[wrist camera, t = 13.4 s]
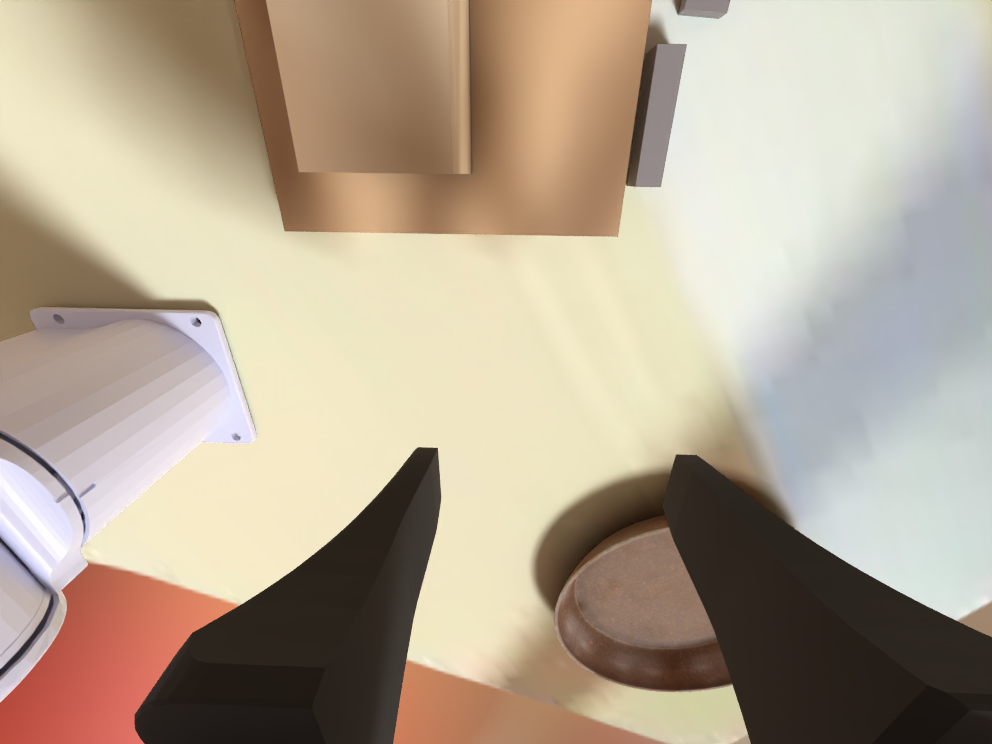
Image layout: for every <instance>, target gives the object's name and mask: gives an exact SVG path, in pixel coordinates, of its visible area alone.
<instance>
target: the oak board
mask: <svg viewBox="0 0 992 744" xmlns="http://www.w3.org/2000/svg"><path fill="white" fill-rule="evenodd" d="M234 1H235V6H236V10H237V15H238V20H239V24H240V29H241V33H242V38H243V42H244V47H245V52H246V56H247V61H248V65H249V70H250V74H251V79H252V84H253V88H254V93H255V97H256V102H257V106H258V111H259V116H260V120H261V125H262V129H263V134H264V138H265V143H266V148H267V152H268V157H269V161H270V166H271V170H272V175H273V179H274V184H275V189H276V193H277V198H278V202H279V207H280V211H281V216H282V221H283V225H284V230H285V231H306V232H368V233H429V234H491V235H553V236H614V237H618V232H619V225H620V218H621V212H622V205H623V198H624V191H625V184H626V177H627V170H628V163H629V156H630V149H631V142H632V135H633V128H634V122H635V115H636V108H637V101H638V94H639V87H640V80H641V73H642V66H643V59H644V52H645V45H646V38H647V31H648V25H649V18H650V11H651V4H652V0H470V33H471V103H472V173H473V174H409V173H327V172H299V170H298V165H297V159H296V154H295V149H294V144H293V139H292V133H291V128H290V123H289V118H288V113H287V107H286V102H285V97H284V92H283V86H282V81H281V76H280V71H279V66H278V60H277V55H276V50H275V45H274V40H273V34H272V29H271V24H270V19H269V13H268V8H267V3H266V0H234Z"/></svg>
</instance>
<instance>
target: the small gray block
mask: <svg viewBox="0 0 992 744" xmlns="http://www.w3.org/2000/svg"><path fill="white" fill-rule="evenodd" d="M686 46H687V44H657V45H656V46H655V47H654V48H653V49H651V50H650V51H649V52H648V53H647V54H646V61H645V67H644V74H643V81H642V88H641V94H640V101H639V108H638V115H637V121H636V128H635V135H634V142H633V148H632V155H631V162H630V169H629V175H628V182H627V186H634V187H661V183H662V177H663V172H664V166H665V161H666V155H667V150H668V144H669V139H670V133H671V128H672V122H673V117H674V111H675V106H676V101H677V95H678V90H679V84H680V79H681V73H682V68H683V62H684V57H685V51H686Z"/></svg>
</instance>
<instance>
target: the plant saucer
mask: <svg viewBox="0 0 992 744" xmlns="http://www.w3.org/2000/svg"><path fill="white" fill-rule="evenodd" d="M554 625H555V630H556V634H557V637H558V639H559V641H560V643H561V645H562V647H563V648H564V649H565V651H566V652H567V653H568V655H569V656H570V657H571V658H572V659H573V660H574V661H575V662H576V663H578V664H579V665H580V666H581V667H583V668H584V669H586V670H588V671H589V672H591V673H593V674H595V675H596V676H599V677H601V678H603V679H605V680H608V681H611V682H613V683H617V684H620V685H623V686H627V687H632V688H637V689H642V690H649V691H661V692H692V691H702V690H710V689H717V688H722V687H727V686H731V685H733V684H732V681H731V678H730V675H729V672H728V669H727V666H726V663H725V660H724V658H723V655H722V652H721V649H720V646H719V643H718V641H717V638H716V635H715V632H714V629H713V627H712V625H711V622H710V620H709V617H708V615H707V613H706V610H705V608H704V606H703V604H702V602H701V600H700V597H699V595H698V593H697V591H696V589H695V587H694V584H693V582H692V580H691V578H690V576H689V574H688V571H687V569H686V567H685V565H684V563H683V560H682V558H681V556H680V554H679V552H678V549H677V547H676V545H675V543H674V540H673V538H672V535H671V532H670V529H669V526H668V523H667V520H666V516H665V515H664V516H659V517H654V518H650V519H647V520H644V521H640V522H637V523H634V524H632V525H629V526H627V527H625V528H623V529H621V530H619V531H617V532H615V533H614V534H612V535H610V536H609V537H607V538H606V539H604V540H603V541H602V542H600V543H599V544H598V545H597V546H596V547H594V548H593V549H592V550H591V551H590V552H589V553H588V554H587V555H586V556H585V557H584V559H583V560H582V561H581V562H580V563H579V564H578V566H577V567H576V568H575V569H574V571H573V572H572V574H571V575H570V576H569V578H568V580H567V581H566V583H565V585H564V587H563V589H562V591H561V593H560V596H559V598H558V601H557V604H556V608H555V615H554Z"/></svg>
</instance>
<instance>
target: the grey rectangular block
mask: <svg viewBox="0 0 992 744" xmlns="http://www.w3.org/2000/svg"><path fill="white" fill-rule="evenodd" d="M729 3H730V0H681V3H680V8H679V12H678V15H685V16H695V17H706V18H716V19H719V18H721V17H722V16H723V15H725V14H726V13H727V11H728V7H729Z"/></svg>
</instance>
